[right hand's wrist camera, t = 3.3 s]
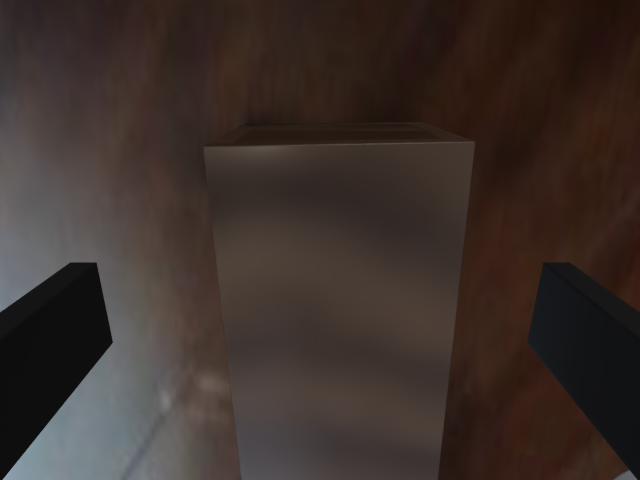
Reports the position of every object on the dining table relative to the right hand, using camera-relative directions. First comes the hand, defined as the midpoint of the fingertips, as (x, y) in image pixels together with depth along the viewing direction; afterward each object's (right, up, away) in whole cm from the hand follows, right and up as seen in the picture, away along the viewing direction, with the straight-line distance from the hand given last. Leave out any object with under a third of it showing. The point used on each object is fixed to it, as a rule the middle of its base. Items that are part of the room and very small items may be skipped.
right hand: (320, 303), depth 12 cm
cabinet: (+1, -1, +16) cm, 16 cm away
